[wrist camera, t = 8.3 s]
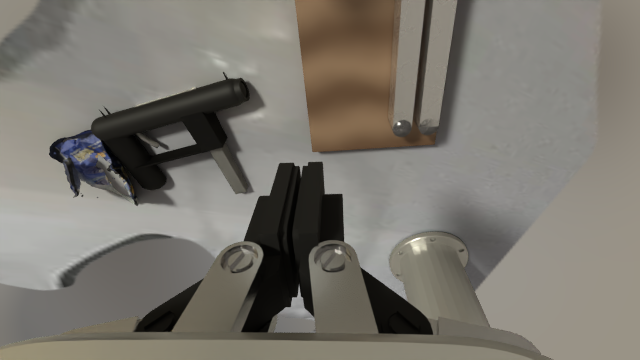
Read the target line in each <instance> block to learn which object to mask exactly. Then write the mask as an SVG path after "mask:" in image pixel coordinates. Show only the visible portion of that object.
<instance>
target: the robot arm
mask: <svg viewBox="0 0 640 360" xmlns="http://www.w3.org/2000/svg"><path fill="white" fill-rule="evenodd" d="M468 257H469V256H468V251H467V249H466V247H465V245H464V243H463V242H462V241H461V240H460V239H459V238H457V237H455V236H453V235H451V234H448V233H443V232H425V233H420V234H416V235H413V236H411V237H409V238H407V239H405V240H403V241H402V242H401V243H399V244H398V245H397V246H396V247H395V248H394V250H393V251H392V253H391V255H390V259H389V263H390V268H391V271H392V273H393V275H394V276H395V277H396V278H397V279H399V280H400V281H402V282H403V284H404V288H405V292H406V296H407V301H408V302H407V301H406V300H405V299H403V298H402V297H400V296H399V295H398V294H396V293H395V292H394V291H392V290H391V289H390V288H388V287H387V286H385V285H384V284H383V283H381V282H380V281H379V280H377V279H376V278H374V277H373V276H372V275H370V274H369V273H368V272H366V271H365V270H363V269H362V268H361V267H360V265H359V261H358V258H357V254H356V252H355V250H354V249H353V248H352V247H351V246H350V245H349V244H347V243H345V242H344V224H343V197H342V194H325V191H324V175H323V162H308V166H303V170H302V176H301V174H300V167H299V166H295V165H294V163H280V164H279V166H278V170H277V173H276V176H275V180H274V183H273V186H272V190H271V193H270V196H260V197H259V198H258V201H257V204H256V207H255V210H254V213H253V215H252V218H251V221H250V224H249V227H248V230H247V233H246V236H245V238H244V241H243V242H238V243H234V244H232V245H230V246H228V247H226V248H225V249H224V250H222V251H221V253H220V254H219V255H218V256H217V258H216V260H215V261H214V263H213V264H212V266H211V268H210V269H209V271H208V273H207V274H206V276H205V277H204V279H202V280H200V281H199V282H197V283H195V284H194V285H192V286H191V287H189V288H187V289H186V290H185V291H183V292H181V293H179V294H178V295H176V296H175V297H173V298H171V299H170V300H168V301H167V302H165V303H163V304H162V305H160V306H159V307H157V308H155V309H154V310H152V311H151V312H150V313H148V314H147V315H146V316H145V317H144V318H143V319H139V317H138V316H135V317H130V318H126V319H121V320H116V321H111V322H107V323H102V324H97V325H92V326H87V327H82V328H78V329H73V330H70V331H67V332H64V333H62V334H60V335H53V336H46V337H38V338H33V339H28V340H24V341H20V342H15V343H11V344H7V345H4V346H2V347H0V360H553V359H551V358H548V357H546V356H543V355H541V353H540V352H539V350H538V349H537V348H536V347H535V346H534V345H533V344H532V343H531V342H529V341H528V340H527V339H525V338H524V337H522V336H520V335H517V334H514V333H512V332H508V331H503V330H499V329H494V328H490V325H489V323H488V321H487V319H486V316H485V314H484V312H483V309H482V307H481V305H480V303H479V300H478V298H477V296H476V294H475V292H474V289H473V287H472V285H471V283H470V280H469V278H468V276H467V274H466V271H465V269H464V268H465V266H466V264H467V262H468ZM299 285H300V292H301V297H303V301H304V307H305V309H306V310H307V311H309V312H310V313H311V314H312V315H313V316H314V317H315V326H316V333H274V330H275V327H276V324H277V318H278V316H277V314H278V313H279V312H280V311H282V310H283V309H284V308H285V307H291V301H292V297H297V295H298V287H299Z"/></svg>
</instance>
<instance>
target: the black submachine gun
mask: <svg viewBox="0 0 640 360" xmlns="http://www.w3.org/2000/svg"><path fill="white" fill-rule="evenodd" d="M223 74H224V76H225V78H226V80H223V81H220V82H216V83H213V84H210V85H206V86H203V87H200V88H194V87H192V88H191V89H190V90H186V91H183V92H180V93H176V94H173V95H169V96H166V97H163V98H159V99H156V100H153V101H149V102H146V103H143V104H139V105H136V106H134V107H132V108H129V109H126V110H122V111H119V112H116V113H112V114H110V112H109V111H108V110H107V109H106V108H105V107H104V108H105V109H106V111H107V112H108V114H109V115H106V116H105V115H104V114H103V113H102V112H101V111H100V112H101V113H102V115H103V116H102V117H99V118H97V119H95V120H94V121H93V123H92V125H91V130H92V133H93V134H94V136H95V137H97V138H98V139H100V140H103V142H104V143H105V144H106V145H107V146H108V147H109V149H110V150H111V151H112V152H113V153H114V154H115V156H116V157H117V158H118V159H119V160H120V162H121V163H122V164H123V165H124V166H125V167H126V169H127V170H128V171H129V172H130V173H131V174H132V176H133V177H134V178H135V179H136V180H137V182H138V183H139V184H140V185H141V186H142V187H143V188H144V189H147V190H155V189H159V188H161V187H162V186H163V185H164V184H165V183H166V176H165V175H164V174H163V173H162V171H161V170H160V169H159V167H158V166H157V165H156V164H160V163H163V162H167V161H171V160H175V159H179V158H183V157H187V156H191V155H195V154H199V153H203V152H207V151H210V153H211V155H212V156H213V158H214V159H215V161H216V163H217V164H218V166H219V168H220V169H221V171H222V173H223V174H224V176H225V177H226V179H227V181H228V182H229V184H230V186H231V187H232V189H233V191H234V192H235V194H239V193H243V192H246V191H247V188H248V185H247V183H246V181H245V180H244V178H243V176H242V174H241V172H240V170H239V168H238V166H237V164H236V162H235V160H234V158H233V157H232V155H231V153H230V151H229V149H228V147H227V145H226V143H225V142H226V140H227V136H226V134H225V132H224V130H223V128H222V126H221V124H220V122H219V120H218V118H217V116H216V114H215V112H216V111H219V110H223V109H227V108H230V107H234V106H237V105H240V104H241V103H243V102H245V101H248V100H249V91H248V88H247V85H246V83H245V81H244V80H243V79H242V78H239V79H228V78H227V76H226V75H225V73H224V72H223ZM180 121H183V123H184V124H185V126H186V127H187V129H188V131H189V132H190V134H191V135H192V137H193V139H194V140H195V142H196V143H197V144H195V145H191V146H188V147H184V148H180V149H176V150H172V151H168V152H165V153H161V154H157V155H153V156H149V154H148V153H147V152H146V150H145V149H144V148H143V146H142V145H141V144H140V143H139V141H138V140H137V139H136V137H135V136H134V134H136V135H137V136H138V137H140V138H141V139H142V140H144V141H145V142H147V143H148V144H150V145H152V146H154V147H156V148H158V146H159V143H157V142H155V141H153V140H152V139H150V138H148V137H147V136H145V135H144V134H143V133H142V132H144V131H148V130H151V129H155V128H159V127H162V126H166V125H169V124H173V123H177V122H180Z"/></svg>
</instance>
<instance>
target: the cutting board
mask: <svg viewBox="0 0 640 360" xmlns="http://www.w3.org/2000/svg"><path fill="white" fill-rule="evenodd" d="M295 4H296V13H297V22H298V30H299V39H300V48H301V56H302V65H303V73H304V82H305V91H306V99H307V108H308V117H309V125H310V134H311V143H312V151H313V152H322V151H338V150H354V149H370V148H386V147H402V146H417V145H433V144H435V139H436V132H437V131H436V132H435V133H433V134H431V135H423V134H422V133H421V132H420V131H419V129H418V127H417V125H416V123H415V122H414V120H412V129H411V132H410V133H409V134H408V135H407V136H404V137H398V136H396V135H395V134H394V133H393V131H392V128H391V125H390V123H389V120H388V114H389V97H390V79H391V62H392V44H393V27H394V9H395V0H295Z"/></svg>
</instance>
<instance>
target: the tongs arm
mask: <svg viewBox="0 0 640 360" xmlns="http://www.w3.org/2000/svg"><path fill="white" fill-rule="evenodd" d="M424 8H425V0H395V9H394V27H393V44H392V62H391V79H390V97H389V114H388V120H389V123H390V125H391V128H392V131H393V133H394V134H395V135H396V136H398V137H404V136H407V135H408V134H409V133H410V132H411V129H412V120H413V111H414V102H415V92H416V83H417V74H418V64H419V55H420V46H421V36H422V27H423V18H424Z"/></svg>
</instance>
